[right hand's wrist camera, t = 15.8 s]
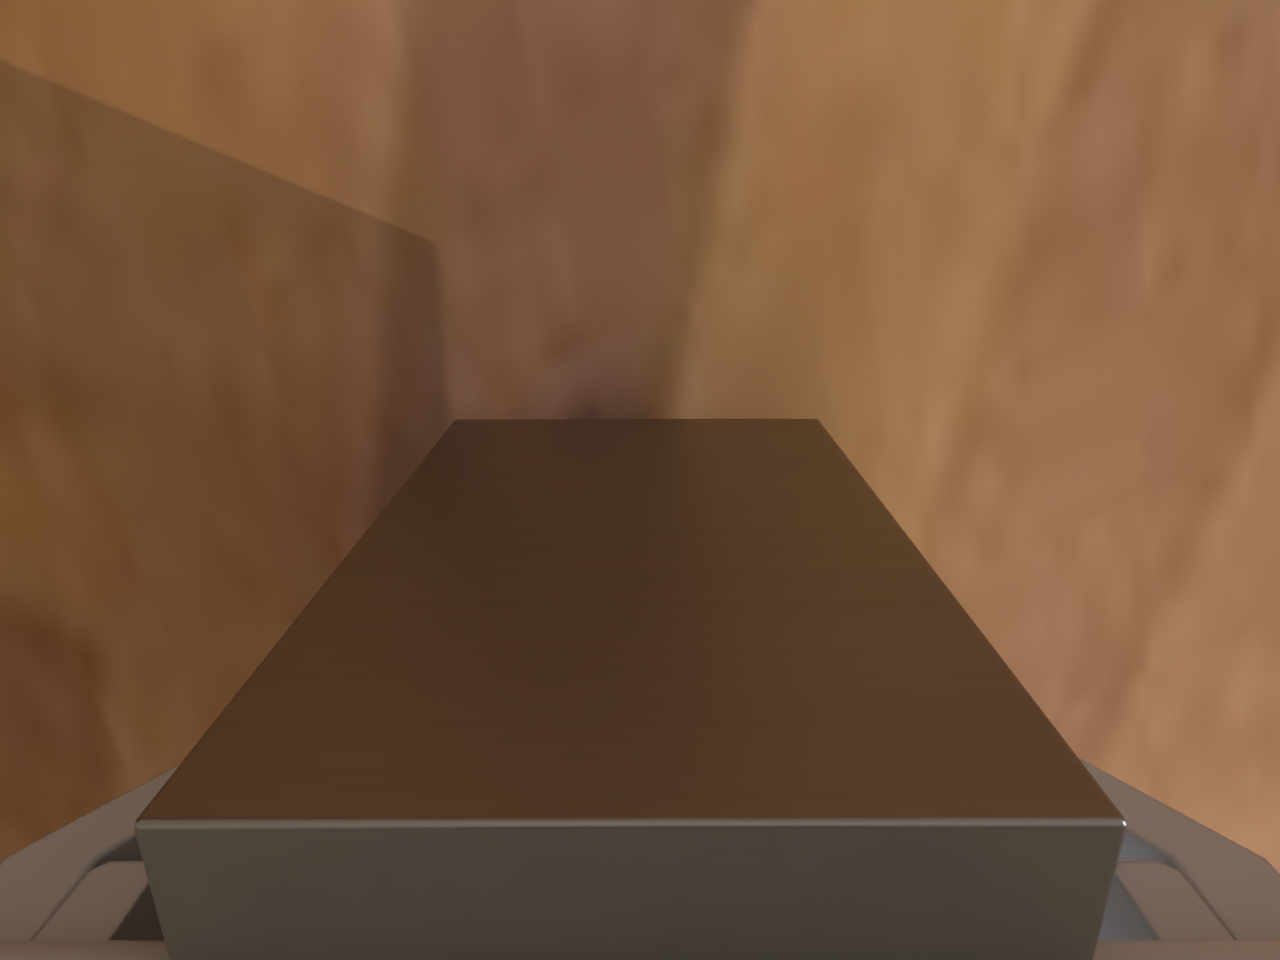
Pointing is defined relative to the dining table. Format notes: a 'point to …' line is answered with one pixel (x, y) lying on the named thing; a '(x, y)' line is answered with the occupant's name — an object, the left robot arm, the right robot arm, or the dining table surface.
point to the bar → (632, 729)
